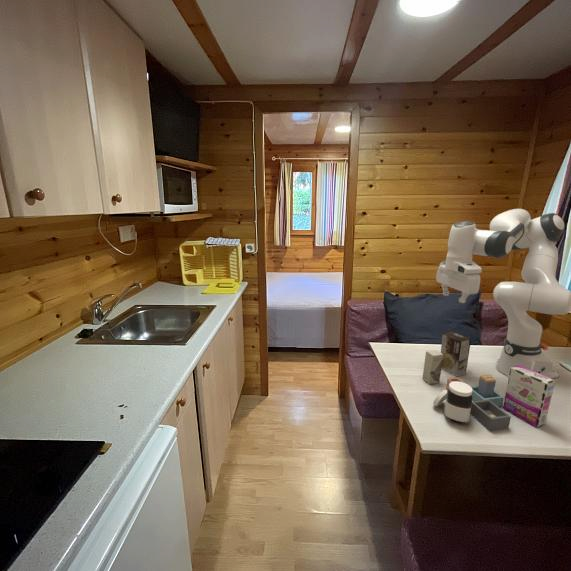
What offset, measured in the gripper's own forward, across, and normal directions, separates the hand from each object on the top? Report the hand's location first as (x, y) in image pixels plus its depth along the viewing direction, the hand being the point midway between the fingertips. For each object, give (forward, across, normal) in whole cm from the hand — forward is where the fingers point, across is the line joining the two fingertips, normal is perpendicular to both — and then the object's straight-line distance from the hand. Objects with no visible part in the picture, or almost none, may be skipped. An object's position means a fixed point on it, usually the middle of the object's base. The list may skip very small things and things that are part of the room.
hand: (453, 298), depth 123 cm
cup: (+34, +12, -4) cm, 36 cm away
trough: (+34, +19, +3) cm, 39 cm away
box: (+34, +4, -8) cm, 35 cm away
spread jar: (+34, +23, -14) cm, 43 cm away
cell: (+33, +19, +3) cm, 38 cm away
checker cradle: (+34, +28, -4) cm, 44 cm away
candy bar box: (+34, +29, +10) cm, 46 cm away
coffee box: (+34, -2, +6) cm, 35 cm away
